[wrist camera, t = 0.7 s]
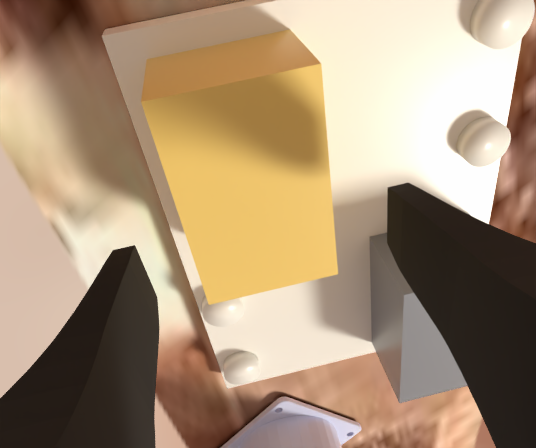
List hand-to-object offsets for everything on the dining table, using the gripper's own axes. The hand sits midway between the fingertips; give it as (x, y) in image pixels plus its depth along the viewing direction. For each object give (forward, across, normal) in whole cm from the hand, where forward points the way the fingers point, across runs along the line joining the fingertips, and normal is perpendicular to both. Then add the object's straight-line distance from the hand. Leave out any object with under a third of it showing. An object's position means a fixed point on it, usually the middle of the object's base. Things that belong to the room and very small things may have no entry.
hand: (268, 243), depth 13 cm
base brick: (+6, -8, +10) cm, 14 cm away
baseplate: (+7, -4, +5) cm, 10 cm away
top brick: (+6, 0, 0) cm, 6 cm away
